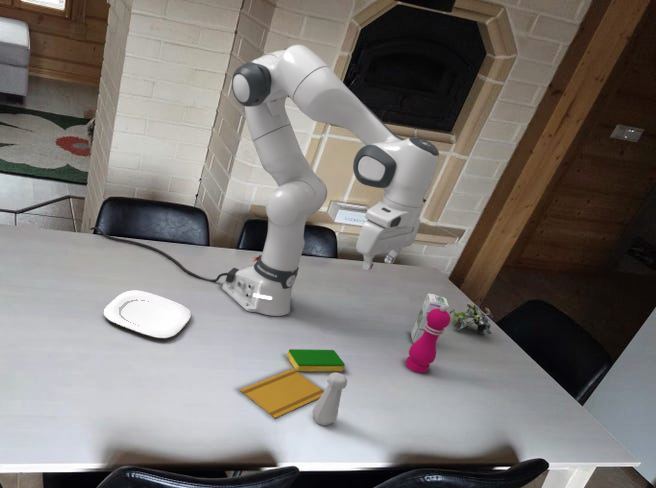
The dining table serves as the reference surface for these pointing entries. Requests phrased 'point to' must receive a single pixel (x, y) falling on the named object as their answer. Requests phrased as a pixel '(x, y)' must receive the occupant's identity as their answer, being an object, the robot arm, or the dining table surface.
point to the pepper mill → (428, 341)
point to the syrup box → (428, 305)
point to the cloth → (283, 392)
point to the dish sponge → (315, 360)
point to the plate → (148, 314)
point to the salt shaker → (329, 400)
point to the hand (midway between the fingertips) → (377, 265)
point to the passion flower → (478, 318)
